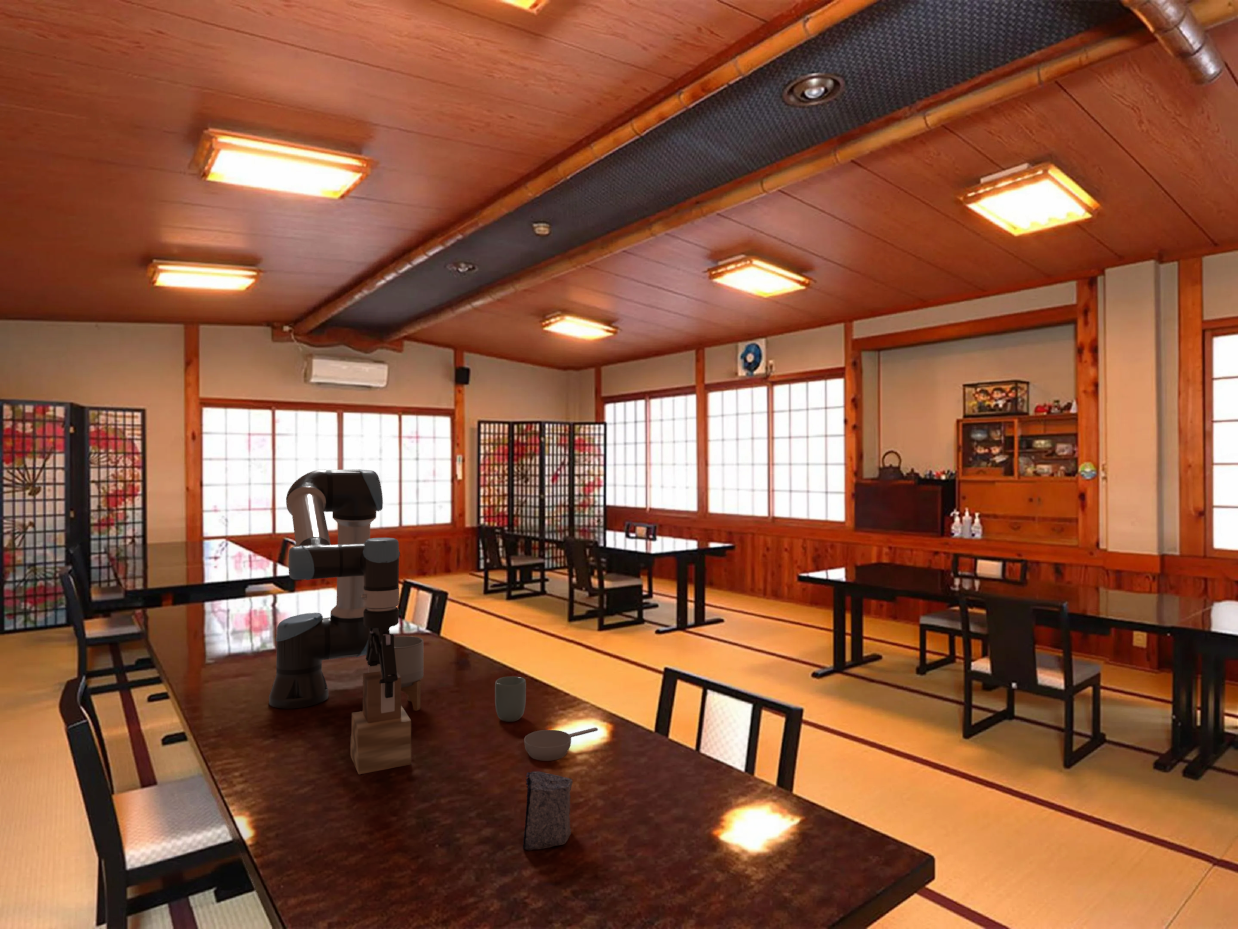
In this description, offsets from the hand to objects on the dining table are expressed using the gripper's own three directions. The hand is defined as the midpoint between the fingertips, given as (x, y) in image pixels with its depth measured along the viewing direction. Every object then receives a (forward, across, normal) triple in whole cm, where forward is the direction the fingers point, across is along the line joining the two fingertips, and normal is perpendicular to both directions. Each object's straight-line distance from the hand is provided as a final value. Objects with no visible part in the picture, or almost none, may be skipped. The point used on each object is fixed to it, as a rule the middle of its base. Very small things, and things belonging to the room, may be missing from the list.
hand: (380, 702), depth 162 cm
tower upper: (+8, 0, 0) cm, 8 cm away
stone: (+13, +50, +18) cm, 54 cm away
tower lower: (+13, 0, 0) cm, 13 cm away
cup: (+13, -10, +35) cm, 38 cm away
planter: (+13, -33, +12) cm, 38 cm away
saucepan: (+13, +15, +38) cm, 43 cm away
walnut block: (+3, 0, 0) cm, 3 cm away
